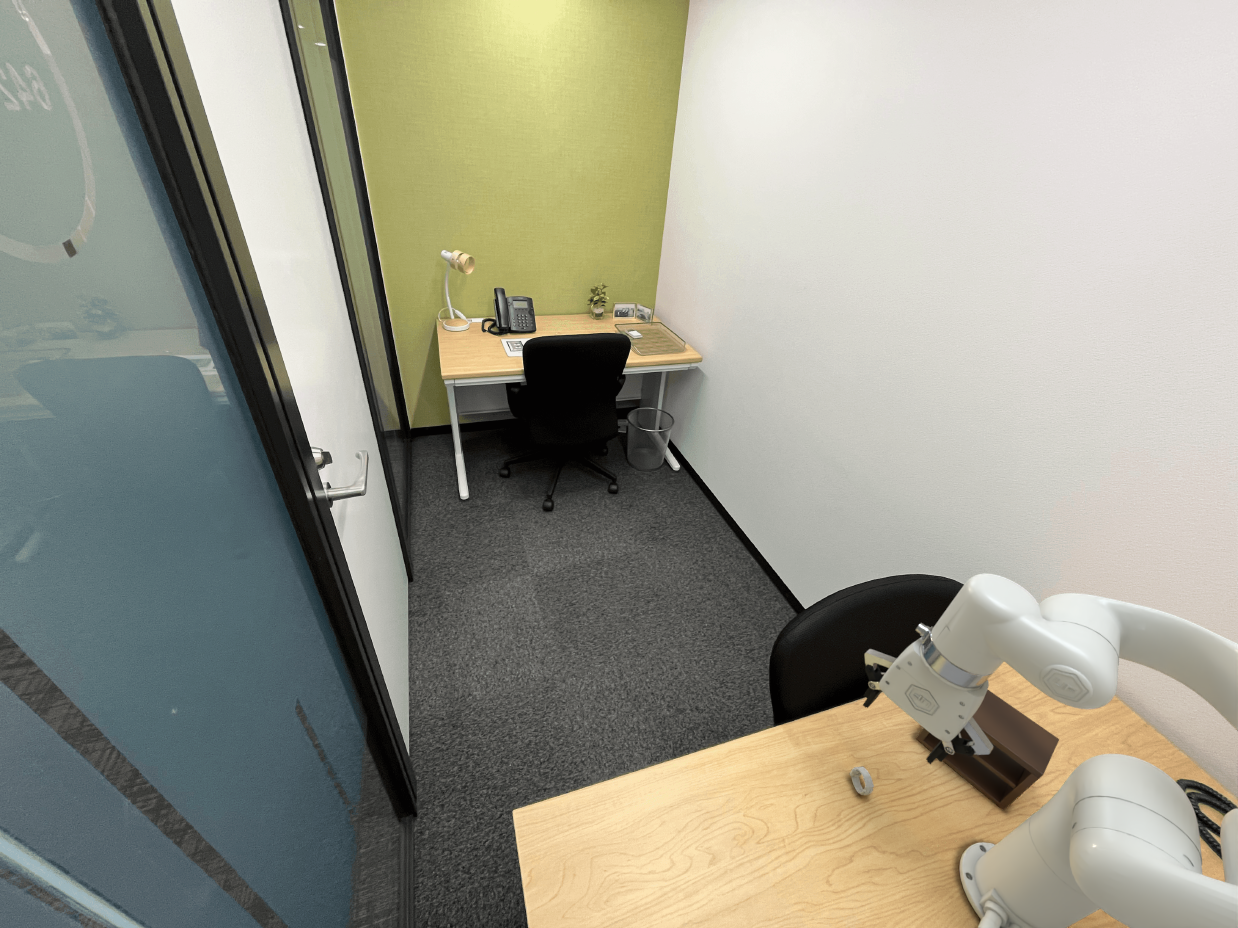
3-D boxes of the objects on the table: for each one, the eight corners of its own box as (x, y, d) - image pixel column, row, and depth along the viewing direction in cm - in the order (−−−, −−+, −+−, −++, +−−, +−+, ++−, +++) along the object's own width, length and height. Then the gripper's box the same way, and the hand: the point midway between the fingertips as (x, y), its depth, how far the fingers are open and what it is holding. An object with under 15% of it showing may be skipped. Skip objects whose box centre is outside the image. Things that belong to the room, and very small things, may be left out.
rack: (1003, 810, 79) (1043, 774, 73) (915, 738, 88) (944, 701, 82) (1020, 774, 85) (1059, 739, 78) (936, 710, 93) (965, 673, 87)
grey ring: (869, 798, 79) (879, 786, 77) (857, 800, 79) (866, 787, 76) (857, 774, 82) (866, 762, 80) (845, 776, 82) (854, 763, 80)
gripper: (878, 623, 66) (834, 695, 76) (1021, 729, 55) (948, 798, 65) (904, 599, 70) (859, 670, 80) (1042, 694, 60) (971, 763, 69)
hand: (899, 727), depth 72 cm, fingers open, 9 cm apart
